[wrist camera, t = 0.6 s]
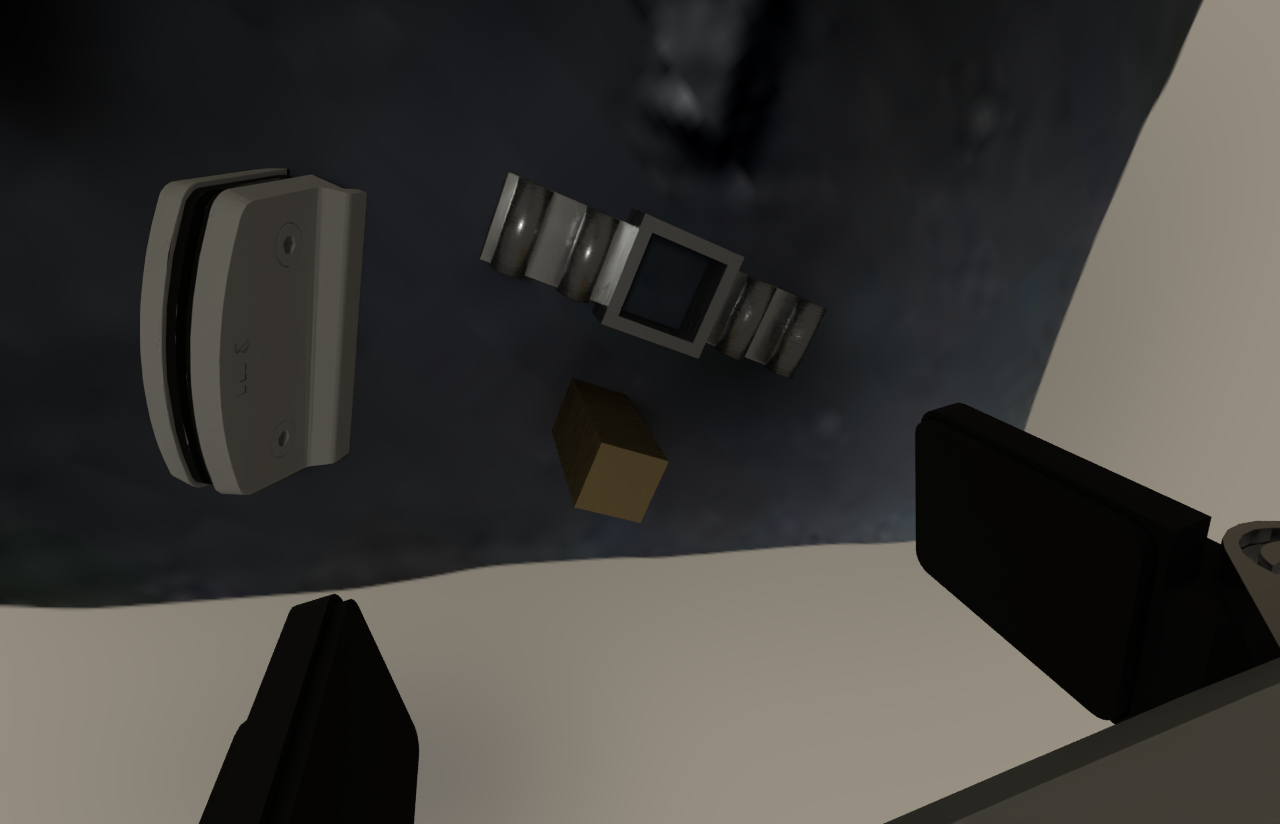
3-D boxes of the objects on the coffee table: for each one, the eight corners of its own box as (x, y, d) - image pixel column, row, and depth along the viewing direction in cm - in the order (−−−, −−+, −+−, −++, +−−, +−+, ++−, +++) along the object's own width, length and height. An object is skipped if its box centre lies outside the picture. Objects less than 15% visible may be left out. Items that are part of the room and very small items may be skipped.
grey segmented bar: (512, 155, 35) (516, 156, 32) (817, 290, 43) (845, 301, 40) (474, 269, 37) (475, 280, 34) (774, 378, 45) (797, 395, 42)
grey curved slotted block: (348, 458, 39) (239, 540, 30) (276, 440, 39) (144, 516, 30) (367, 185, 34) (240, 180, 24) (283, 164, 34) (124, 152, 24)
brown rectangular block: (572, 377, 41) (601, 442, 32) (626, 395, 43) (668, 461, 34) (551, 430, 42) (574, 507, 33) (604, 445, 44) (640, 522, 35)
